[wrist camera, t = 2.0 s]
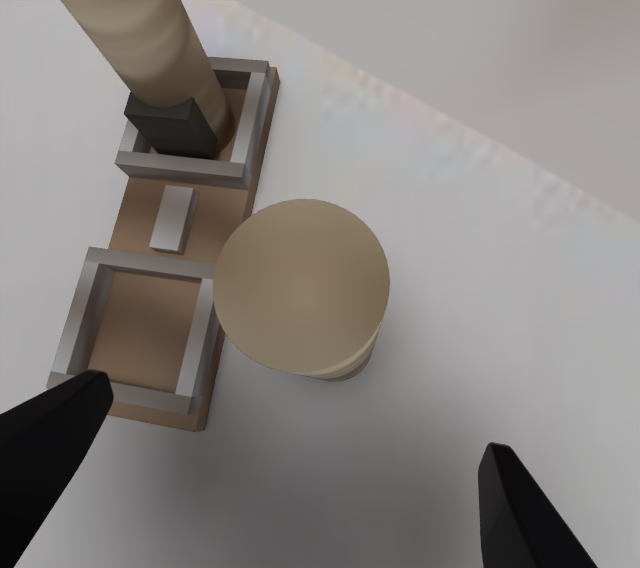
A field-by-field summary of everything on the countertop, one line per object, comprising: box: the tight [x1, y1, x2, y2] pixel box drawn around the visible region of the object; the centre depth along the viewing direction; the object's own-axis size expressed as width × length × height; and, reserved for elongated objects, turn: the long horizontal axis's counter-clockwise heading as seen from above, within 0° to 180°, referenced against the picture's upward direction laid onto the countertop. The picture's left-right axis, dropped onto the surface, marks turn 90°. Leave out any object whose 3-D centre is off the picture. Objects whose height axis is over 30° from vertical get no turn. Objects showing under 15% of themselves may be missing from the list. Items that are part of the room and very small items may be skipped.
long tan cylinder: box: [61, 0, 236, 160], centre depth 18 cm, size 4×4×13 cm
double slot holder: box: [46, 57, 280, 432], centre depth 23 cm, size 21×7×3 cm, turn 171°
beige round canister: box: [213, 199, 390, 381], centre depth 16 cm, size 4×4×13 cm
